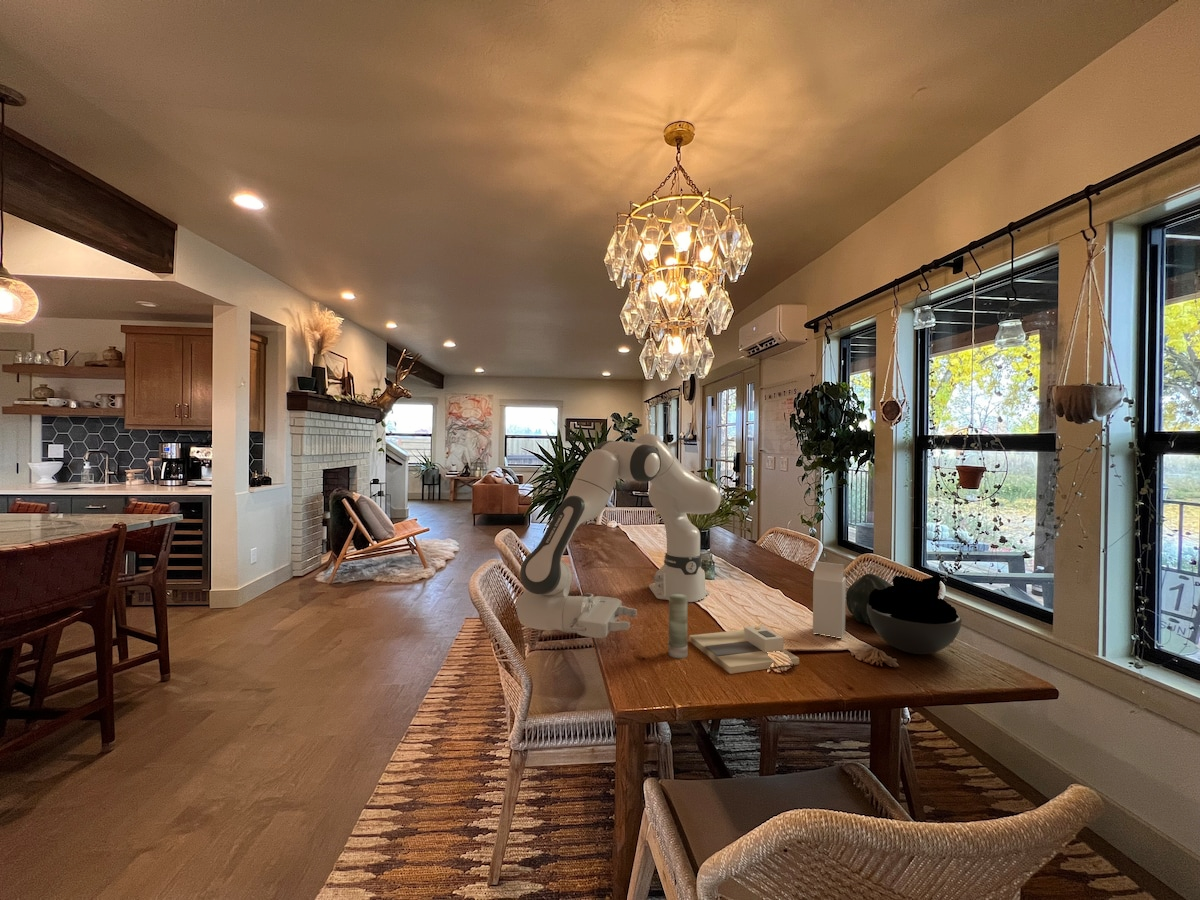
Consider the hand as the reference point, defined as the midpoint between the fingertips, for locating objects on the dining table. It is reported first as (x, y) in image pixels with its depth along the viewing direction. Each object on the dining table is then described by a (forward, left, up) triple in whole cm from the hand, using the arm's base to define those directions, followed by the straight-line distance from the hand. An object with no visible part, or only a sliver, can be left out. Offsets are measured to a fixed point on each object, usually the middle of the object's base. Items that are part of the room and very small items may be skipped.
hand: (632, 619), depth 129 cm
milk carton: (+4, +55, -8) cm, 56 cm away
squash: (0, +74, -8) cm, 74 cm away
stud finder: (+10, +31, -6) cm, 33 cm away
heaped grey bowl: (+20, +66, -8) cm, 69 cm away
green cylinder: (+6, +10, -8) cm, 13 cm away
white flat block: (+9, +25, -8) cm, 27 cm away
